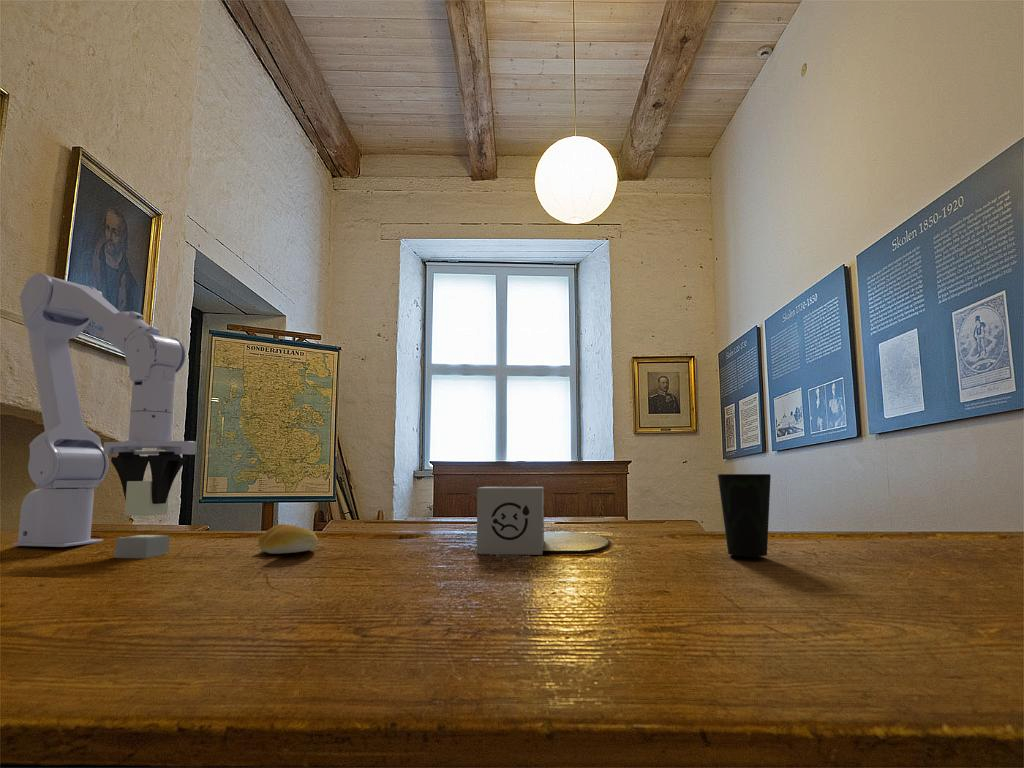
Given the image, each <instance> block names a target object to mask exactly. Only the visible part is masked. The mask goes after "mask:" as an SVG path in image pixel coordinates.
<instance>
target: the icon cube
mask: <svg viewBox="0 0 1024 768" xmlns="http://www.w3.org/2000/svg"><path fill="white" fill-rule="evenodd" d="M544 489H545V488H544V486H481V487H477V488H476V490H477V491H476V555H478V554H479V555H516V556H517V555H521V556H523V555H529V556H530V555H531V556H532V555H534V556H535V555H536V556H537V555H538V556H542V555H543V551H544V544H545V542H544V541H545V523H544V522H545V503H544V501H545V500H544V498H545V496H544V495H545V494H544V491H545V490H544Z"/></svg>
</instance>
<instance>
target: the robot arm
mask: <svg viewBox="0 0 1024 768" xmlns="http://www.w3.org/2000/svg"><path fill="white" fill-rule="evenodd" d="M19 300H20V301H19V302H20V307H21V313H22V318H23V323H24V326H25V328H26V329H27V331H28V332H27V333H28V342H29V348H30V354H31V360H32V365H33V370H34V372H33V373H34V376H35V381H36V382H35V383H36V388H37V389H36V390H37V393H38V399H39V405H40V410H41V417H42V420H43V421H42V422H43V428H44V431H43V432H41V433H40V434H39V435H37V436H36V437H35V438H34V439H33V440H31V442H30V443H29V445H28V446H29V460H28V465H27V469H28V475H29V477H30V479H31V480H32V483H34V484H35V488H36V489H33V490H31V491H30V492H28V493H27V494H26V495H25V496H24V499H22V503H21V507H20V515H19V516H20V517H19V526H18V527H19V528H18V538H17V542H12V546H14V547H18V546H19V547H21V546H22V547H49V548H50V547H54V548H64V547H74V546H80V545H81V546H83V545H89V544H96V543H100V542H103V541H104V539H103V538H92V537H91V535H92V521H93V511H94V498H95V488H99V487H100V483H102V482H103V481H104V479H105V478H106V476H107V474H108V471H109V468H110V463H112V465H113V467H114V469H115V470H116V473H117V475H118V477H119V479H120V483H121V486H122V490H123V495H124V500H125V501H124V502H126V490H127V481H144V477H145V473H146V470H147V467H148V465H149V466H150V467H149V468H150V474H151V481H152V503H153V504H163V503H166V500H167V497H168V498H169V496H168V494H169V493H170V490H171V489H172V485H173V483H174V480H175V479H176V476H177V475H178V473H179V471H180V470H181V469H182V466H183V465H184V464H185V462H186V457H185V456H184V457H181V455H196V454H197V453H196V452H197V451H196V450H197V441H194V440H192V441H191V440H179V441H178V440H172V433H173V432H172V431H173V418H174V416H173V415H174V414H173V413H174V401H175V387H176V386H175V385H176V384H175V383H176V374H177V373H179V371H180V370H181V369H182V368H183V366H184V364H185V362H186V349H185V346H184V345H183V343H182V342H181V341H180V339H179V338H177V337H172V336H171V337H165V336H163V334H161V330H160V328H158V327H156V326H152V325H149V323H148V322H147V323H146V321H144V320H143V318H144V315H143V314H141V313H140V312H138V311H132V310H131V311H119V310H118V308H116V307H115V306H114V305H113V304H112V303H110V302H109V301H108V300H107V299H106V298H105V297H104V296H103V292H102V291H100V290H97V289H96V288H95V287H93V286H92V285H83V284H79V283H76V282H73V281H69V280H65V279H61V278H57V277H54V276H50V275H48V274H46V273H43V272H37V273H34V274H33V275H31V276H30V277H29V278H28V279H27V280H26V281H25V284H24V286H23V288H22V291H21V292H20V296H19ZM91 321H93V322H94V323H95V324H97V325H99V326H100V327H102V329H103V336H104V338H105V340H106V341H108V343H110V344H111V345H112V346H113V347H115V348H117V349H118V351H120V352H121V353H123V354H124V359H125V362H126V365H127V366H128V368H129V369H128V370H129V371H128V372H129V374H128V377H129V378H130V381H131V382H132V387H131V401H130V402H131V403H130V415H129V427H128V428H129V430H128V440H125V441H104V443H103V445H102V442H101V438H100V436H99V435H97V434H96V433H95V432H93V431H92V430H90V429H89V428H88V427H87V426H85V424H84V418H83V415H82V409H81V404H80V398H79V393H78V387H77V384H76V378H75V373H74V368H73V362H72V357H71V353H70V351H71V350H70V347H69V340H71V339H74V338H78V337H79V336H80V335H81V334H82V332H83V331H84V330H85V328H86V327H87V326H88V325H89V324H90V322H91ZM143 448H144V449H156V450H148V451H147V450H143ZM142 450H143V451H142ZM145 455H147V456H145ZM109 456H111V458H110V459H111V460H109Z"/></svg>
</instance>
